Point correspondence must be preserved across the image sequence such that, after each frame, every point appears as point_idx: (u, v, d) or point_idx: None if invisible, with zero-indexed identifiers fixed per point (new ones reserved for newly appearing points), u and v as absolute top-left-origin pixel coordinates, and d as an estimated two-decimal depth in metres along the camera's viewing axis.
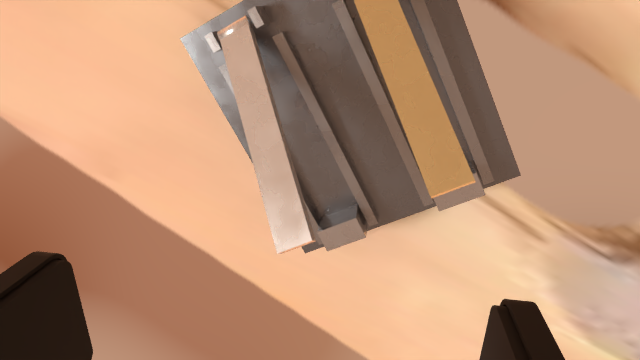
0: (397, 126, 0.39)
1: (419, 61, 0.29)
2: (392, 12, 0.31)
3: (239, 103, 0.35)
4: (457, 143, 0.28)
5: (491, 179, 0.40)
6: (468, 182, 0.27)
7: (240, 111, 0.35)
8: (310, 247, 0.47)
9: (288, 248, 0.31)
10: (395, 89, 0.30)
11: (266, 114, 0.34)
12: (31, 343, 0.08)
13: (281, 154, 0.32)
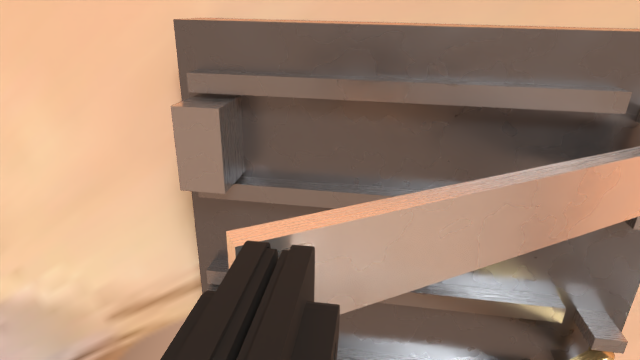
0: None
1: None
2: None
3: (584, 174, 0.15)
4: None
5: None
6: None
7: (572, 174, 0.15)
8: (183, 38, 0.22)
9: None
10: None
11: (532, 236, 0.15)
12: None
13: (454, 266, 0.14)
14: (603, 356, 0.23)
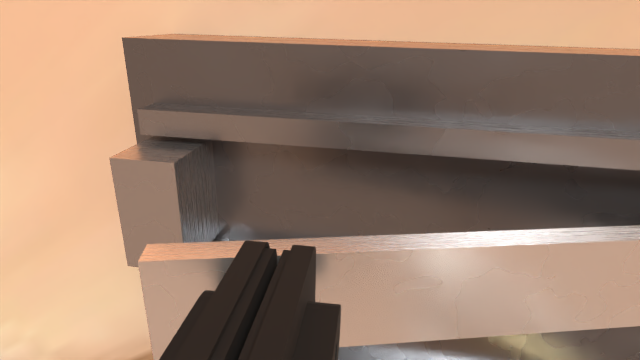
0: None
1: None
2: None
3: (633, 247, 0.11)
4: None
5: None
6: None
7: (610, 245, 0.11)
8: (136, 62, 0.16)
9: (146, 296, 0.10)
10: None
11: (545, 314, 0.12)
12: None
13: (420, 329, 0.12)
14: None
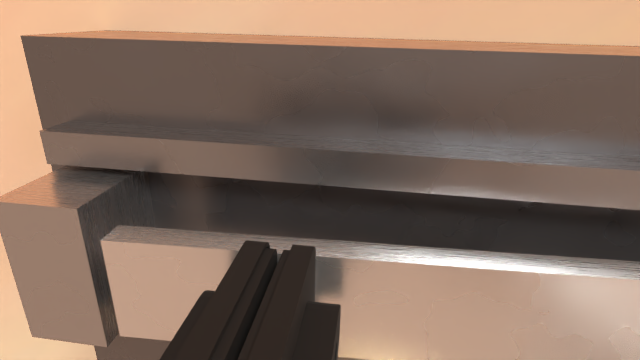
0: None
1: None
2: None
3: None
4: None
5: None
6: None
7: (624, 283, 0.09)
8: (41, 68, 0.12)
9: (110, 274, 0.11)
10: None
11: (538, 354, 0.10)
12: None
13: (385, 348, 0.11)
14: None
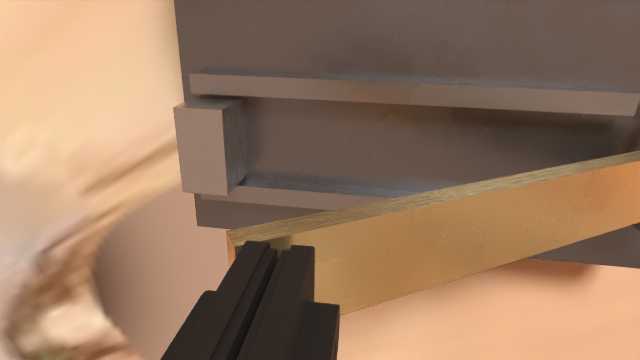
0: (361, 98, 0.20)
1: (503, 257, 0.14)
2: (591, 223, 0.16)
3: None
4: None
5: (205, 196, 0.24)
6: None
7: None
8: None
9: None
10: (490, 205, 0.13)
11: None
12: None
13: None
14: None
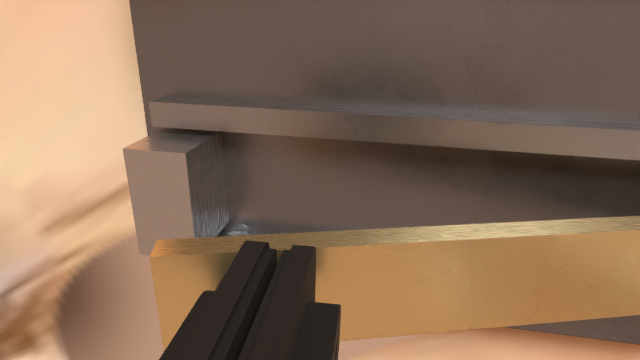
0: (371, 137, 0.15)
1: (500, 319, 0.12)
2: None
3: None
4: None
5: None
6: (165, 340, 0.11)
7: None
8: None
9: None
10: (474, 254, 0.11)
11: None
12: None
13: None
14: None
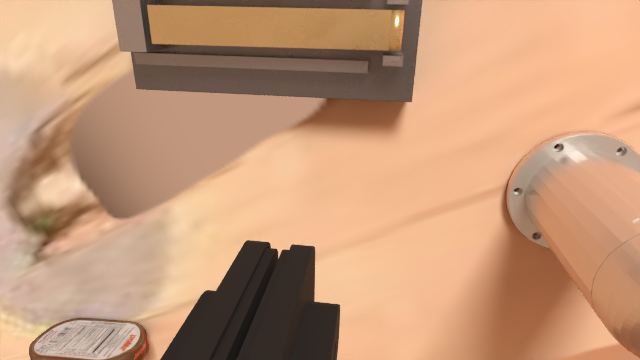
0: None
1: (261, 43, 0.34)
2: (317, 39, 0.33)
3: None
4: (183, 43, 0.34)
5: (137, 62, 0.38)
6: (152, 38, 0.35)
7: None
8: None
9: None
10: (246, 13, 0.33)
11: None
12: None
13: None
14: None
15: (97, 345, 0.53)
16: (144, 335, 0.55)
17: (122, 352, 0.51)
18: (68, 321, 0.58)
